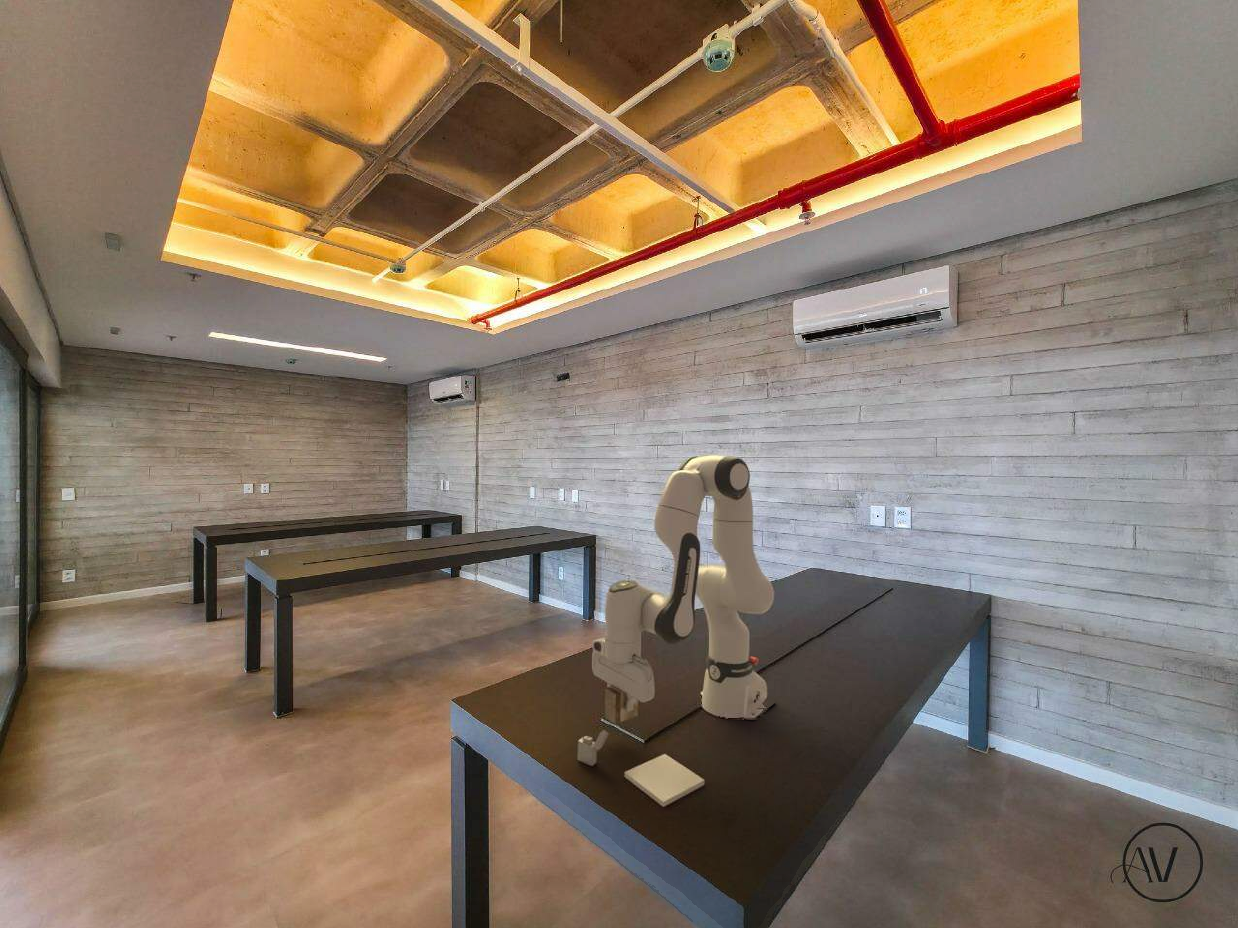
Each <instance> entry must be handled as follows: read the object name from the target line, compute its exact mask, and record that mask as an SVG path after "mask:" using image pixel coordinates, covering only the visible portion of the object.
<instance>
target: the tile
mask: <svg viewBox="0 0 1238 928" xmlns="http://www.w3.org/2000/svg"><path fill="white" fill-rule="evenodd" d="M624 778H625V779H627V780H628V781H630V783H632V784H633V785H634V786H636V787H637V788H639V790H641V791H642V792H644V793H645V794H646V795H647V796H648V797H650V798H651V799H653V800H654V801H655V802H656V803H657V804H659V805H660V806H661V807H663V808H665V807H666V806H668V805H670V804H672V803H673V802H675V801H677V800H680V799H681V798H682V797H684V796H686V795H688V794H690V793H692V792H694V791H695V790H697V789H699V788H701V787H703V786H705V779H704V778H702V777H700V776H699V775H697V773H695V772H693V771H692V770H690V769H688V768H687V767H685V766H684V765H683V764H682V763H679V762H678V761H677V760H675V759H673V758H672V757H670V756H669V755H667V754H666V753H664V754H661V755H659V756H657V757H655V758H652V759H650V760H648V761H646V762H644V763H641V764H639V765H637V766H635V767H633V768H631V769H628V770H626V771H624Z"/></svg>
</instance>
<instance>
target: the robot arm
mask: <svg viewBox="0 0 1238 928" xmlns="http://www.w3.org/2000/svg"><path fill="white" fill-rule="evenodd" d="M750 480H751V474H750V469H749V467H748V464H747V463H746V462H745V460H743V459H742V458H741V457H740V458H739V457H736V456H732V455H727V456H725V455H717V454H715V455H714V454H711V455H705V456H704V455H703V456H691V457H689V458H687V459H685V460H683V461H682V462H681V464H680V465H679V467H678V469H677V470H676V471H674V472H672V473H670V476H669V477H668V479H667V481H666V483H665V485H664V488H663V490H662V493H661V495H660V499H659V501H658V505H657V509H656V512H655V516H654V517H655V518H654V523H653V524H654V531H655V533H656V536H657V537H658V538H659V540H660V541H661V542H662V543H663V544H664V546H666V547H667V548H668V549H669V551H670V552H671V555H672V557H673V561H674V566H673V572H672V573H673V574H672V581H671V588H670V594H669V595H666V594H664V593H661V592H658V591H656V590H653V589H648V588H646V587H644V586H642V585H640V584H639V582H637V581H635V580H632V579H631V580H630V579H628V580H620V581H616V582H615V583H613V584H611V585H610V586H609V589H608V591H607V594H606V599H605V607H604V608H605V611H604V612H605V614H604V620H605V625H606V628H605V629H606V630H605V633H604V637H601V638H597V639H594V640H592V642H591V646H592V656H591V669H592V670H591V671H592V672H593V675H594V676H596V677H597V678H599V679H600V680H602V681H604V682H606V684H607V685H606V686H607V687H606V688H608V687H612V686H614V687H616V688H618V689H620V690H621V691H623V692H625V693H626V694H627V698H628V701H627V702H624V709H625V710H627V711H628V712H629V711H632V710H633V708H634V702H635V700H636V699H637V700H638V702H641V703H646V702H648V701H651V700H653V698H654V697H655V693H656V692H655V679H654V678H655V677H654V671H653V668H652V666H651V664H650V663H649V661H648V659H645V658H642V656H641V655H642V654H641V653H642V652H641V651H642V650H641V649H642V648H641V647H642V646H641V645H642V641H641V640H642V636H641V635H642V632H645V631H648V632H649V633H652V634H653V635H655V636H657V637H659V638H660V639H661V640H663V641H664V642H666V643H668V644H669V645H676V644H680V643H683V642H684V641H685V640H686V639H688V638H689V637H690V635H691V634H692V632H693V630H694V628H695V625H696V610H695V609H696V608H695V606H696V605H695V603H696V602H695V601H696V596H697V598H698V599H699V601H700V602H701V604H702V608H703V610H704V613H705V615H706V620H707V625H708V653H707V656H706V657H707V658H706V670H705V673H704V680H703V690H702V691H700V694H701V695H702V698H701V701H702V705H701V707H702V708H703V710H704V711H706V712H707V713H709V714H711V715H713V716H716V717H719V716H720V717H719V718H722V717H725V718H724V719H728V718H739V717H744V718H755V717H756V716H757V715H759V714H760V713H761V712H762V711H763V709H758V708H766V707H764V705H763V704H762V703H763V702H764V701H765V699H766V698H767V694H768V687H767V686H768V685H767V682H766V681H765V680H764V679H763V678H762V677H761V675H759V674H758V673H757V672H755V671H754V669H753V665H754V666H757V665H758V664H759V658H758V657H754V656H752V655H751V656H750V631H749V628H748V627H747V625H746V623H744V622H743V621H742V619H741V618H740V615H739V613H738V612H740V613H743V614H744V613H745V614H749V615H750V614H752V615H762V614H765V613H767V612H768V611H769V610H770V609H771V607H772V606H773V603H774V600H775V589H774V587H773V584H772V583H771V581H770V580H769V579H768V578H767V577H766V575H765V574H764V573H763V571H762V569H761V568H760V566H759V563H758V560H757V558H756V555H755V549H754V535H753V534H754V532H753V531H754V505H753V498H752V492H751V489H750V487H749V486H750V485H749V484H750ZM707 496H708V497H712V499H713V503H714V504H713V513H712V547H713V549H714V550H715V552H716V553H718V554H719V555H720V558H721V559H722V561H723V563H724V565H720V564H703V565H700V561H701V559H700V558H701V542H700V540H699V537H698V525H699V521H700V520H699V518H700V515H701V511H702V507H703V506H702V505H703V501H704V500H705V497H707ZM752 714H755V715H752Z"/></svg>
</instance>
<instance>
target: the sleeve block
mask: <svg viewBox="0 0 1238 928" xmlns="http://www.w3.org/2000/svg"><path fill="white" fill-rule="evenodd" d="M627 701H628V698H627V694H626V693H625V692H623V691H621V690H620V689H618V688H616V687H614V686H612V687H606V688H604V718H605V719H607V720H608V721H610V722H611V723H613V724H614V725H618V724H620V723H623V722H625V721H627V720H629V719H632V718H635V717H637V716H638V711H639V709H638V708H639V703H638V702H639V700H637V699H636V700H635V702H634V708H633V710H632V711H629V712H628V711H627V710H625V709H624V702H627Z"/></svg>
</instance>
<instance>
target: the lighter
mask: <svg viewBox="0 0 1238 928" xmlns="http://www.w3.org/2000/svg"><path fill="white" fill-rule="evenodd" d="M608 736H609V732H608V731H606V729H603V730H602V731H600V733H598V736H597V738H596V740H595V741H593V737H592V736H591V737H590V736H588V735H585V736H582V737H581V738H580V739H578V741H577V742H578V743H577V761H579V762H581V763H583V764H586V765H589V766H592V767H593V766H594V765H596V764H597V751H599V750H600V749H602V747H603V746H604V744H605V742H606V740H607V738H608Z"/></svg>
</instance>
